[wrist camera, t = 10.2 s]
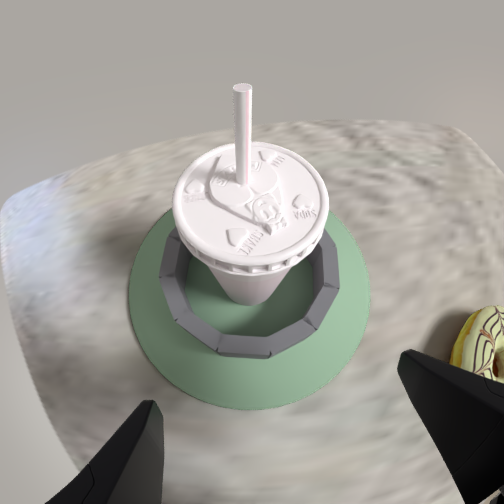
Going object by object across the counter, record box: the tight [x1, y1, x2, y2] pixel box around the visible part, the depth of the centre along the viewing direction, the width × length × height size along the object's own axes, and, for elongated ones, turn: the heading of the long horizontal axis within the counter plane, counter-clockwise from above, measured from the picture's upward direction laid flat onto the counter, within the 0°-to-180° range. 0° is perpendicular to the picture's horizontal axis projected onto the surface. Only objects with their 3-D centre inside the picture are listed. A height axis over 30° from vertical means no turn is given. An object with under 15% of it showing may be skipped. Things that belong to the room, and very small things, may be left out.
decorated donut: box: [449, 305, 504, 383], centre depth 14 cm, size 10×11×4 cm
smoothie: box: [172, 84, 329, 306], centre depth 13 cm, size 6×6×14 cm
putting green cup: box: [129, 209, 370, 410], centre depth 18 cm, size 18×18×3 cm
